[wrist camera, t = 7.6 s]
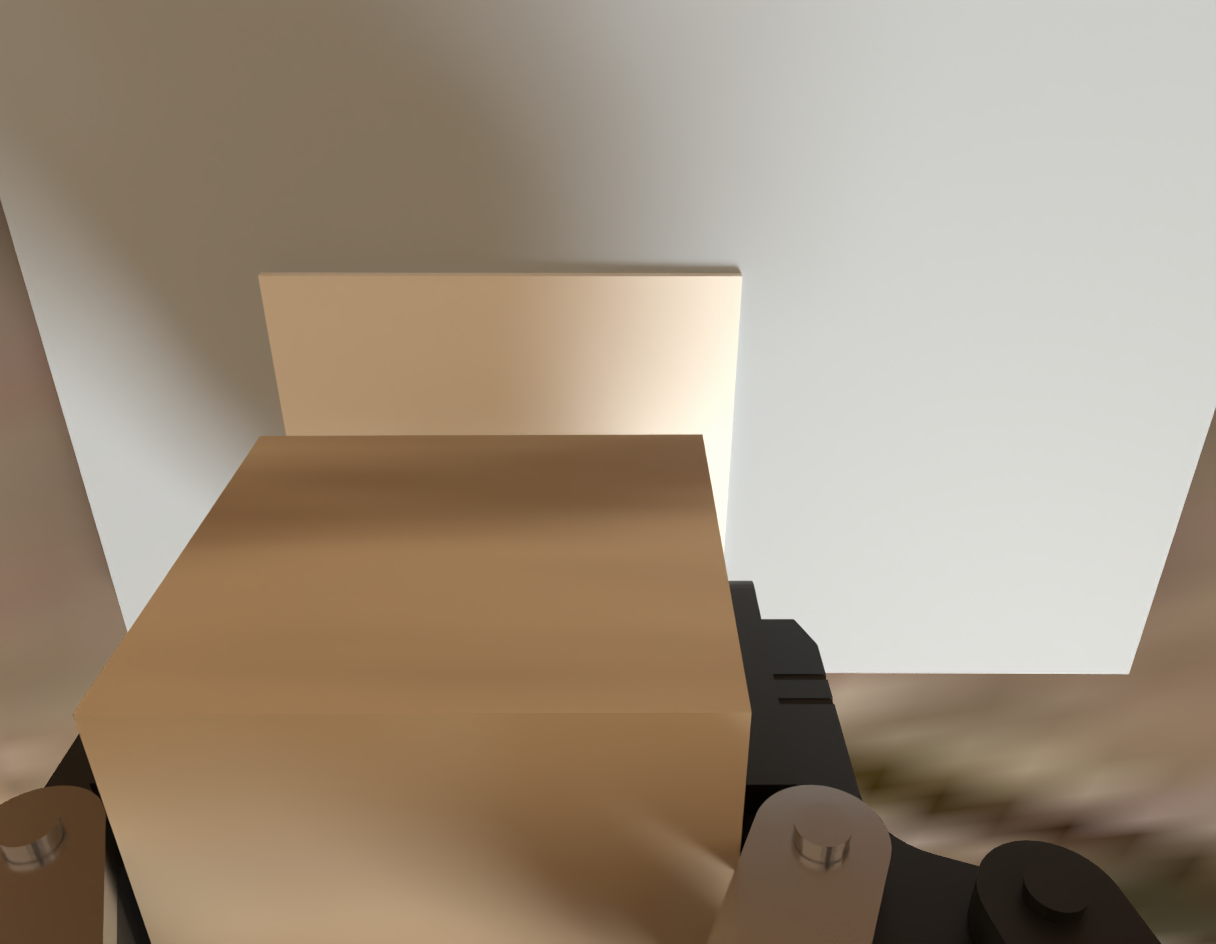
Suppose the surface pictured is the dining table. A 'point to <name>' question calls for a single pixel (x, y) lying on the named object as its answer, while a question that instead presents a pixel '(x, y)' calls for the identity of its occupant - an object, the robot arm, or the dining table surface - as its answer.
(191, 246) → the build board
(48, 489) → the dining table surface
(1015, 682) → the dining table surface
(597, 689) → the beech block
